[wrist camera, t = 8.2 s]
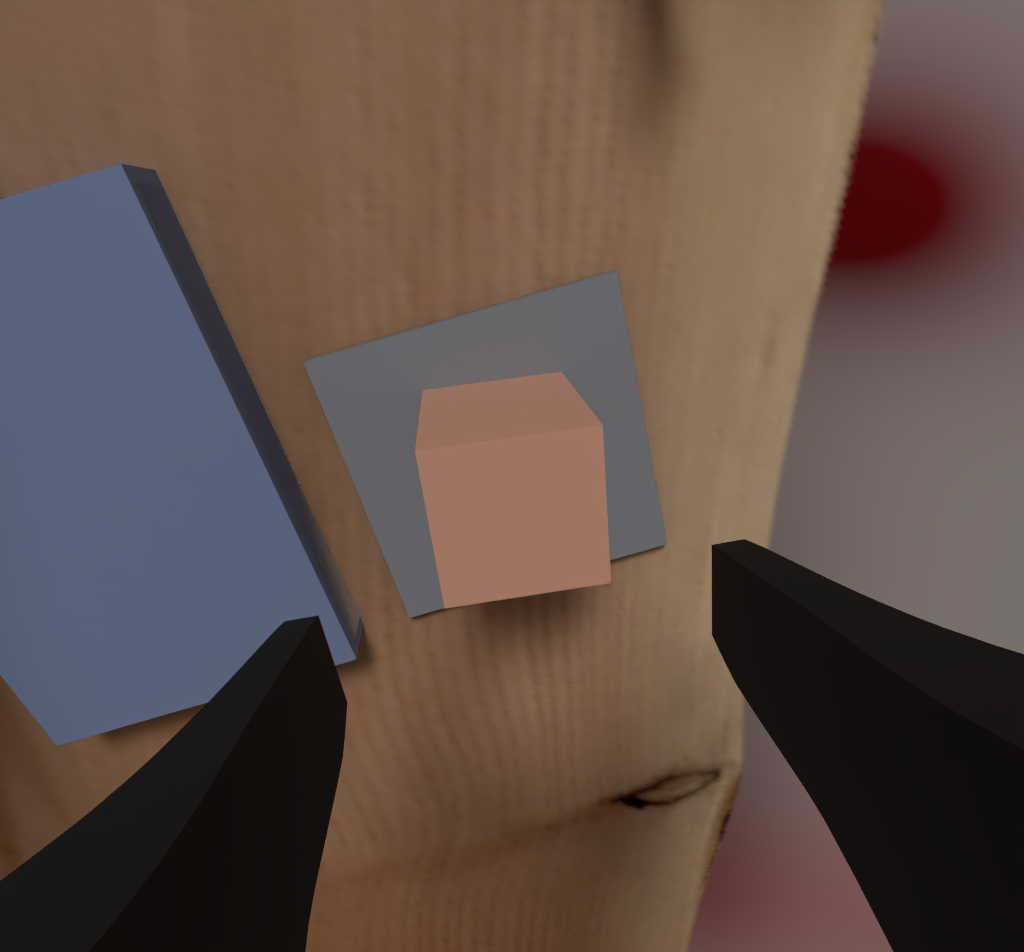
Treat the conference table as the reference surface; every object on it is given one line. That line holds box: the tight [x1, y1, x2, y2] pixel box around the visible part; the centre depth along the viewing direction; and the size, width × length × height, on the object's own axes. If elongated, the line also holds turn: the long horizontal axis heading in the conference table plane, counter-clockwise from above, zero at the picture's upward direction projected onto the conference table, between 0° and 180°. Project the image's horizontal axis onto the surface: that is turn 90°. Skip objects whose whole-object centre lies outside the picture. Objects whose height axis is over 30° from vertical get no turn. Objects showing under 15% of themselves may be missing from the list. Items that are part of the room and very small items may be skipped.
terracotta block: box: [415, 372, 611, 609], centre depth 18 cm, size 4×4×6 cm
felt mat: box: [304, 270, 667, 618], centre depth 21 cm, size 10×10×1 cm
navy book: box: [0, 164, 363, 746], centre depth 19 cm, size 16×11×2 cm
